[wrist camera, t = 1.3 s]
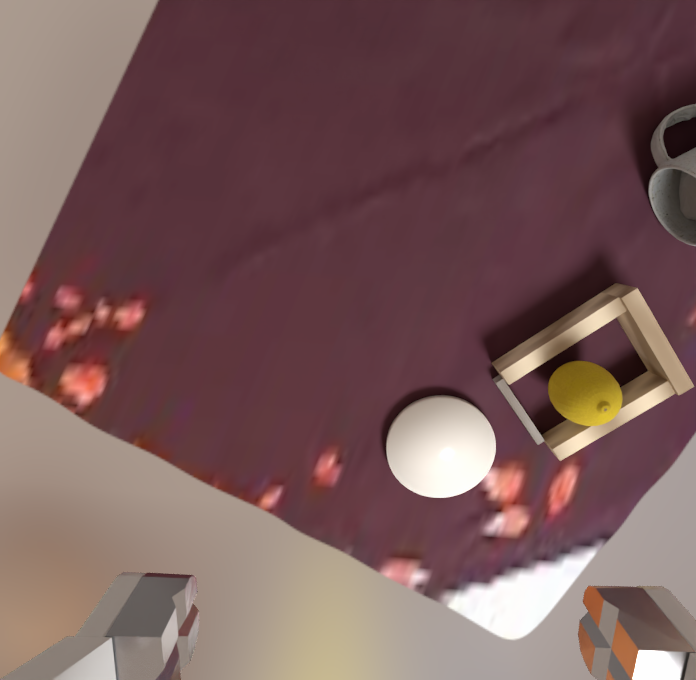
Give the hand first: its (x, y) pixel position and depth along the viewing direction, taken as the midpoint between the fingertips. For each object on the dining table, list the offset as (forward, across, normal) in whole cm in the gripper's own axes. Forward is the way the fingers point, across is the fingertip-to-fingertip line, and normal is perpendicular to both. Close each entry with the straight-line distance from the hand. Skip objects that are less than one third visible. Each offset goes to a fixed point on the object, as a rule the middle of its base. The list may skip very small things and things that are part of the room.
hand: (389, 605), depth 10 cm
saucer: (+36, -8, +14) cm, 39 cm away
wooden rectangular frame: (+36, -21, +5) cm, 42 cm away
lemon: (+36, -20, +6) cm, 42 cm away
